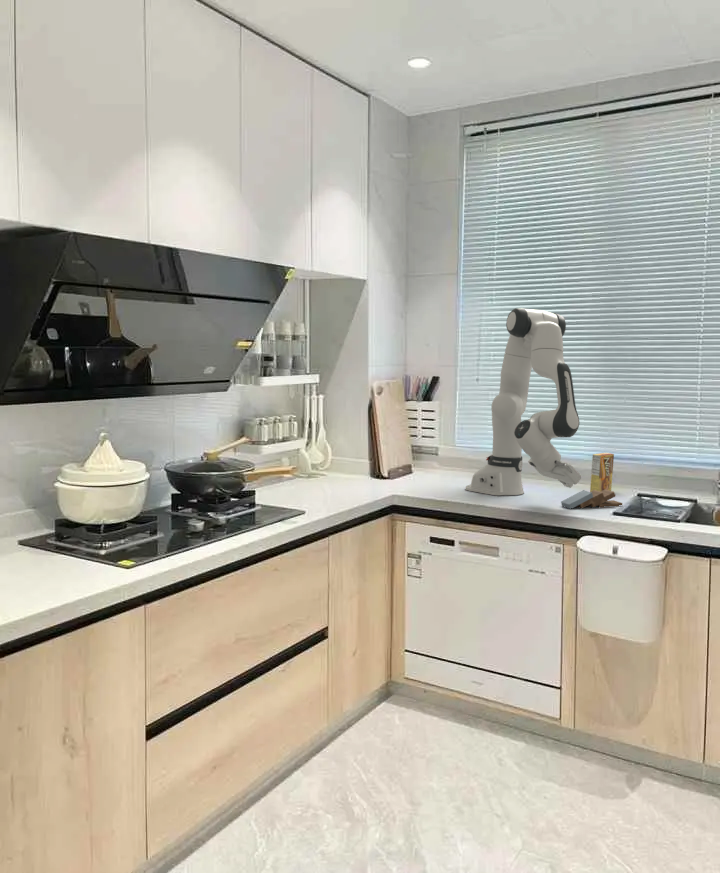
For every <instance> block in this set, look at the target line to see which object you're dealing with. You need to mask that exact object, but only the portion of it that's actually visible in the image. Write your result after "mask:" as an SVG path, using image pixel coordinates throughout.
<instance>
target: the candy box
mask: <svg viewBox="0 0 720 873" xmlns="http://www.w3.org/2000/svg"><path fill="white" fill-rule="evenodd" d="M614 459H615V454H614V453H611V452H601V453H593V454H592V458H591V460H592V461H591V473H590V474H591V476H590V485H589V486H590V487H589V489H590V490H589V492H591V491H593V490H596V491H600V492H601V491H603V490H605V489H606V490H610V491H612V487H613V473H614Z"/></svg>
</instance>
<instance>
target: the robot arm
mask: <svg viewBox="0 0 720 873" xmlns="http://www.w3.org/2000/svg"><path fill="white" fill-rule="evenodd" d="M505 324H506V325H505V326H506V330H507V332H508V334H509V337H508V339H507V341H506V342H507V343H506V346H505V350H504V356H503V360H502V365H501V370H500V384H499V393H498V394H497V395H496V396H495V397H494V398H493V400H492V402H491V423H492V424H491V426H492V451H491V452H492V454H490V455H489V456H487V457H486V459H485V461H487V464H485V465H484V466H483V467H481V468H479V470H477V471H476V472H475V473H473V476H472V478H471V483H470V484H468V485H466V486H465V489H464V490H465V491H470V492H473V493H474V492H475V493H481V494H484V495H485V494H486V495H492V496H517V495H518V496H519V495H523V494H524V493H525V491H524V487H523V481H522V471H523V456H522V454H523V452H524V453H525V454H526V455H527V456H529V457H530V459H529V460H528V461H527V462H528V464H529V465H530V466H531V467H533V468H534V469H535V470H536V471H537V472H538V473H539V474H540V475H542V476H543V477H545V478H550V479H553V480H557V481H559V483H560V484H562V486H564V487H566V488H569V489H571V488H572V487H573V486H574V485H577V484H578V483H579V482H580V481H581V480H582V475H581V474H580V473H579V472H578V471H577V470H576V468H574V466H573V465H572V464H570V463H568V462H565V461H561V459H562V455H561V453H560V452H559V451H558V450H557V449H556V447H555V446H554V445H553V444H552V442H551V441H552V439H556V438H571V437H574V435H575V434H576V433H577V431H578V429H579V427H580V418H579V414H578V411H577V407H576V399H575V389H574V385H573V384H574V382H573V376H572V371H571V368H570V366H569V365H568V364H567V363H566V362H565V360H564V359H565V358H564V342H563V337H564V335H565V333H566V330H567V328H566V327H567V323H566V320H565V317H564V316H563V315H560V314H558V313H556V312H550V311H546V310H542V309H532V308H531V309H529V308H524V307H516V308H513V309H512V310H511V311H510V312H509V313H508V316H507V319H506V323H505ZM532 370H533V371H534V373H536V374H537V375H538V376H540V377H542V378H546V379H548V380H552V381H553V383H554V384H555V387H556V388H555V390H556V396H557V408H556V409H552V410H551V409H550V410H545V411H544V410H543V411H539V412H538V411H537V412H535V413H533V414H532V415H531V416H530V418H527V419H524V420H522V415H523V414H525V411H526V408H527V402H528V398H529V397H528V395H529V388H530V379H531V372H532Z"/></svg>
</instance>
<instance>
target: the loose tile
mask: <svg viewBox="0 0 720 873" xmlns="http://www.w3.org/2000/svg"><path fill="white" fill-rule="evenodd" d="M591 498H593V495H592V493H591V492H590V491H588V490H585V489H583V490H580V491H579V492H577V493H575V494H573V495H571V496H569V497H568V498H566V499H564V500H562V501H560V504H561V506H562V507H563V506H565V507H564V508H566V507H567V508H566V509H569V508H570V509H569V510H572V509H574V508H577V507H576V506H578V505H579V504H581V503H583V502H585V501H587V500H589V499H591ZM571 508H572V509H571Z"/></svg>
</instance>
